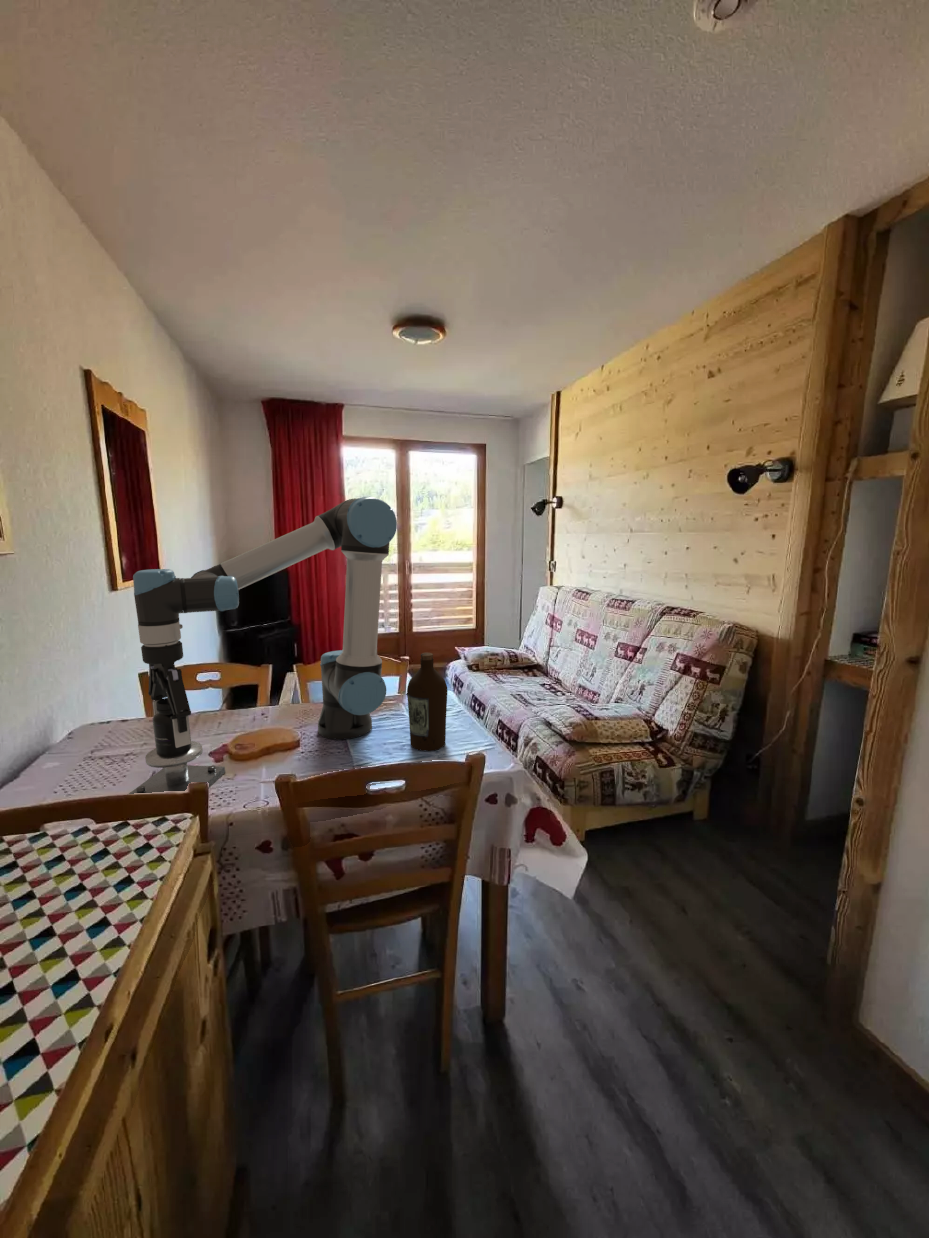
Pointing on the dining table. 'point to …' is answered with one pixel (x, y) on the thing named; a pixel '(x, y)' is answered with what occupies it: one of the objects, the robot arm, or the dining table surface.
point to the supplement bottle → (166, 731)
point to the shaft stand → (178, 772)
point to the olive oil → (427, 707)
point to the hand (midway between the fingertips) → (172, 736)
